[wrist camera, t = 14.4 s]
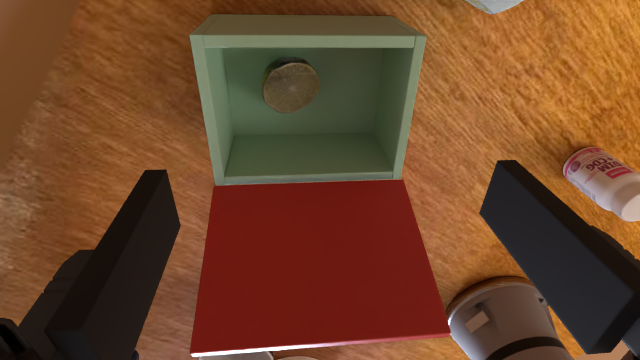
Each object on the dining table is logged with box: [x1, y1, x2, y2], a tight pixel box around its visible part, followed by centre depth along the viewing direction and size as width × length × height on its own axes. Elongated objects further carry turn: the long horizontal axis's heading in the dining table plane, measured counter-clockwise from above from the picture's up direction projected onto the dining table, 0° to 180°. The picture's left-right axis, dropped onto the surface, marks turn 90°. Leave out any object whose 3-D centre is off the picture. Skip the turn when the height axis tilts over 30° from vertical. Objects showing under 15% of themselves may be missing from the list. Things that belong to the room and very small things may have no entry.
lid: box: [190, 180, 451, 357], centre depth 25 cm, size 12×16×1 cm
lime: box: [261, 57, 320, 113], centre depth 30 cm, size 4×5×5 cm
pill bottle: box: [563, 147, 640, 222], centre depth 38 cm, size 5×5×8 cm
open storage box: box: [189, 14, 426, 185], centre depth 29 cm, size 12×16×8 cm
